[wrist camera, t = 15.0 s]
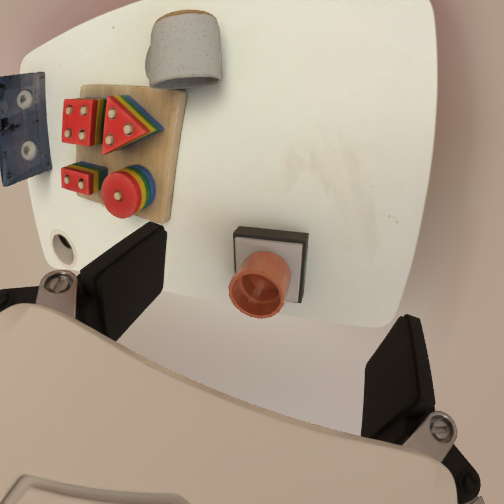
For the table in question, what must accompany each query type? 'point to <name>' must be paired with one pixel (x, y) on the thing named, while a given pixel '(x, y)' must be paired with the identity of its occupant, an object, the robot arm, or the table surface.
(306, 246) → the scale
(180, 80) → the ceramic mug
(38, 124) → the vhs cassette tape
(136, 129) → the shape sorter
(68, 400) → the robot arm
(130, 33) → the table surface
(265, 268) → the terracotta pot
